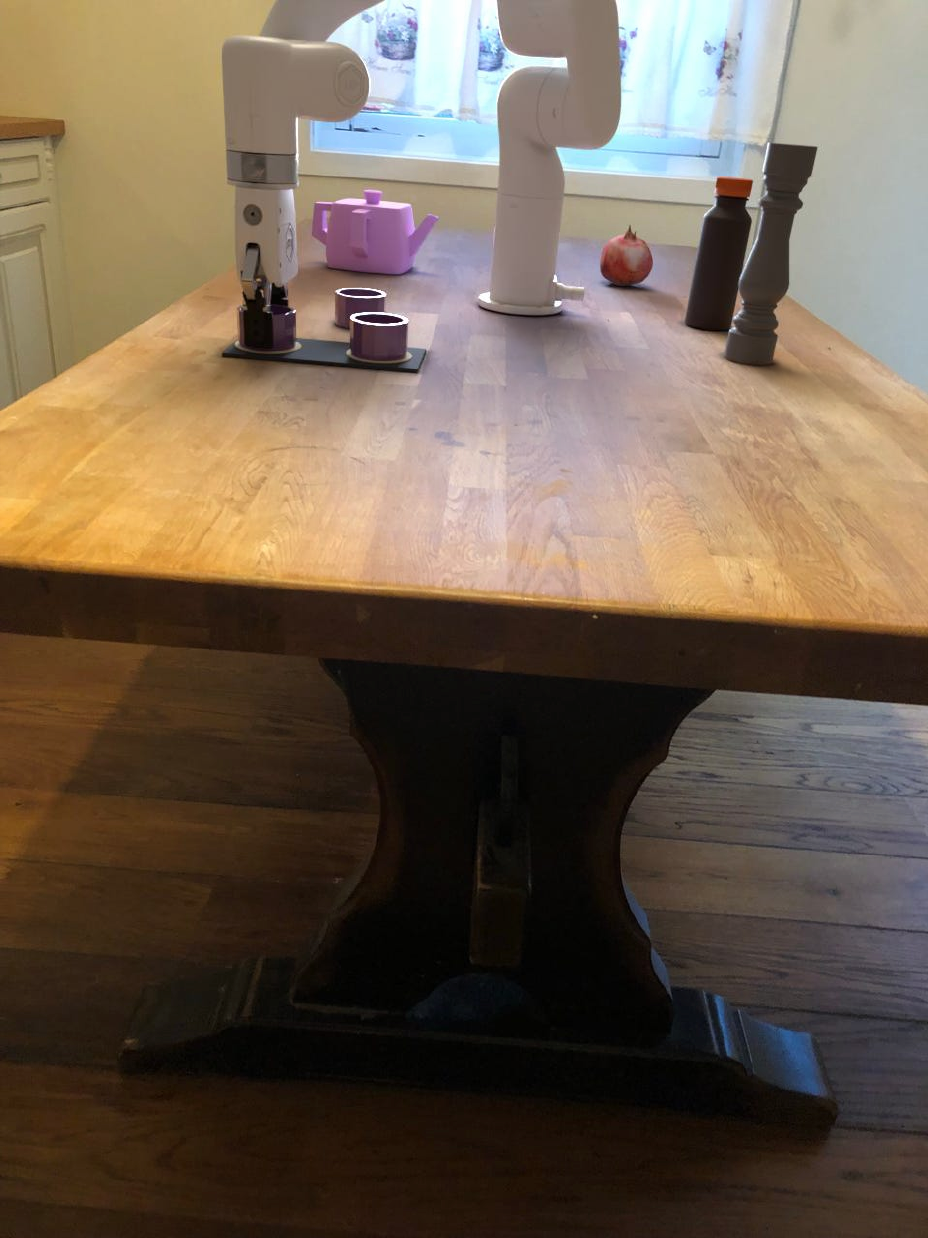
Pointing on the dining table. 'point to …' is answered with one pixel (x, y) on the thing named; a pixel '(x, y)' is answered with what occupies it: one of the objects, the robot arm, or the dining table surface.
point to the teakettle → (370, 234)
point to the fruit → (626, 260)
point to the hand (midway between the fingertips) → (267, 338)
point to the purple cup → (274, 328)
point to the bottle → (720, 256)
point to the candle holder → (769, 255)
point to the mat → (329, 355)
